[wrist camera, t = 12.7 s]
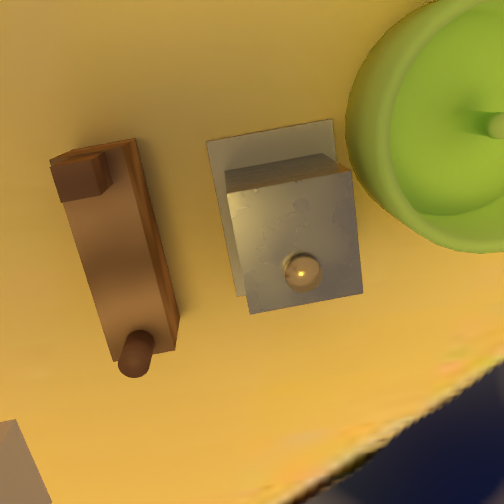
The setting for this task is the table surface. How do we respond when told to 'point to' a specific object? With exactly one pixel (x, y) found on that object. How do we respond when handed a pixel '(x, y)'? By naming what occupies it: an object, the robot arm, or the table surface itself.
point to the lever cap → (295, 231)
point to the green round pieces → (435, 123)
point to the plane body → (119, 250)
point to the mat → (260, 152)
